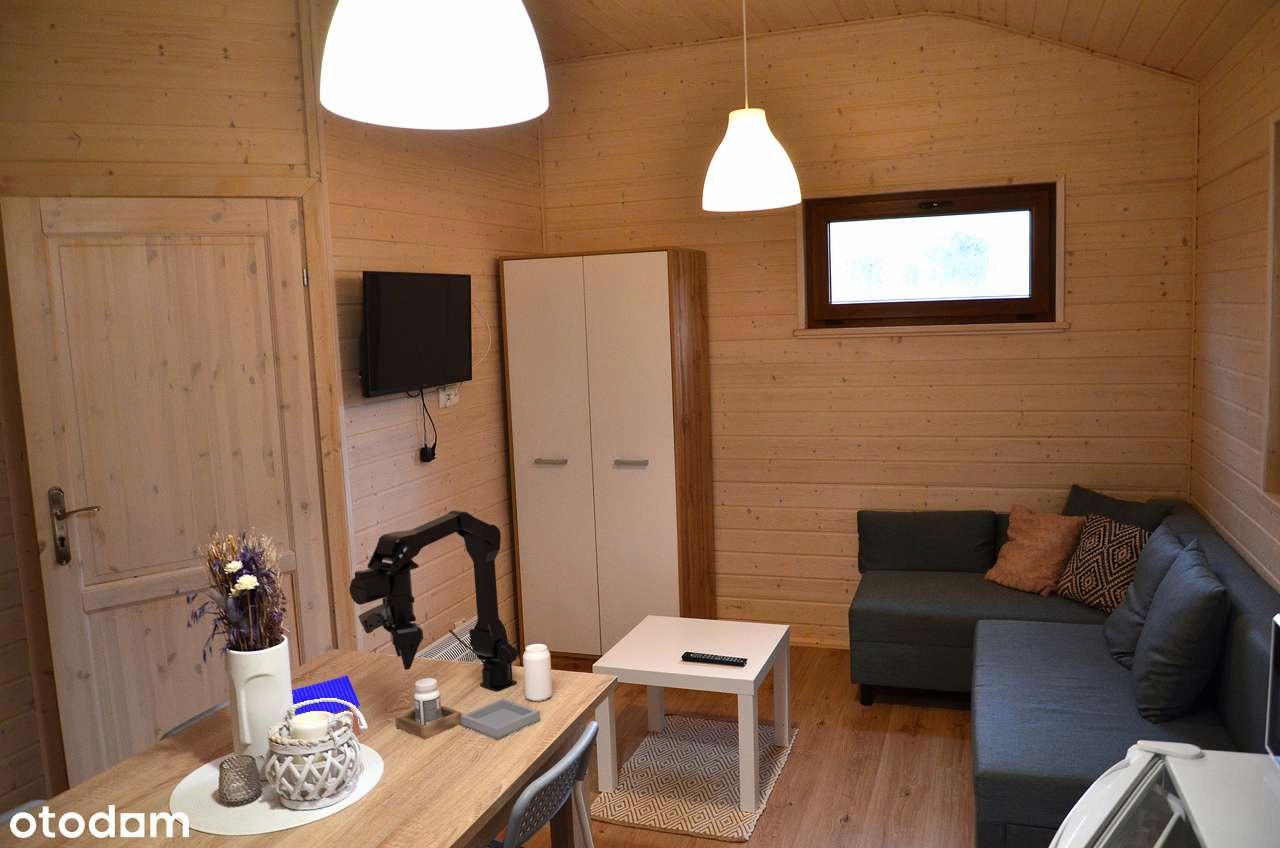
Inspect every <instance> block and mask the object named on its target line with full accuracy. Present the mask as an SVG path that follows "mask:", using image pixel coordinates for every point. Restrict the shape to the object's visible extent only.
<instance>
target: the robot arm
mask: <svg viewBox="0 0 1280 848" xmlns="http://www.w3.org/2000/svg"><path fill="white" fill-rule="evenodd" d="M455 533H456V534H457V535H458V536H459V537H461V538H463V540H464V546H465V550H466V552H467V554H468V555H469V557H470V558H471V560H472V562H473V572H474V573H473V574H474V575H473V576H474V577H473V578H474V586H475V599H476V600H475V602H476V613H477V614H476V616H477V621H476V623H475V625H474V627H473V628H470V629H469V633H468V634H469V646H470V647H471V649H472V651H473V652H474V653H475V655H476V657H477V660H479V661H481V660H482V670H481V671H482V672H481V673H482V682H480V683H479V686H480V687H483V688H486V689H489V690H492V691H496V692H498V691H501V690H504V689H506V688H508V687H511V686H514V685H516V684H518V681H517V680H515V679H513V668H512V667H513V666H512V665H513V662H515V661H516V660H517V658H518V654H519V653H518V650H517V649H516V648H514V646H512V645H511V644H510V643H509V640H508V635H507V630H506V629H505V627H504V625H503V623H502V622H501V620H500V618H499V617H500V615H499V601H498V591H497V590H498V589H497V574H496V558H497V557H498V554H499V552H500V550H501V542H502V541H501V538H502V534H501V530H500V528H499V527H498V526H497V525H496V524H491V523H487V522H485V521H483V520H481V519H479V518H477V517H475V516H473V515H472V514H470V513H469V512H467V511H463V510H452V511H449V512H448V513H447V514H444V515H442V516H440V517H438V518H435V519H432V520H431V521H428V522H427V523H423V524H421V525H419V526H417V527H415V528H413V529H408V530H400V531H394V532H390V533H389V532H387V533H384V534H382V535H381V536H380V537H379V539H378V541H377V544H376V547H375V549H374V551H373V553H372V555H371V557H370V559H369V562H368V564H367V566H366V568H367V569H365V570H358V571H355V572H354V577H353V578H352V579H351V582H350V586H349V587H348V589H349V594H350V598H351V599H352V601H353V602H354V603H355V604H356V605H361V606H362V605H365V604H368V603H371V602H374V601H377V600H381V601H382V603H381V604H379V605H378V606H377V605H376V606H375V607H372V608H370V609H368V610H367V611H364V612H363V613H361V614H359V615H358V619H359V622H360V624H361V626H362V628H363V630H364V632H365V633H366V634H371V633H373V632H374V630H376V629H379V628H380V627H382V628H383V629H384V630H386V631H387V632H389V634H390V642H391V644H392V645H393V646H394V649H395V653H396V656H397V657H401V660H402V661H401V662H402V665H403V668H404V670H405V671H406V670H407V671H408V670H411V667H412V666H413V662H414V659H415V657H416V654H417V652H418V649H419V647H420V644H421V643H422V641H423V640H424V631H423V629H422V627H421V626H420V625H419V624H417V623H416V622H417V620H416V619H417V618H416V615H415V611H414V603H415V597H414V596H413V587H412V585H413V584H412V573H411V570H415V569H418V568H419V567H420V566H419V564H418V563H417V562H415V561H414V560H413V558H415V557H416V556H418V555H419V553H420V552H421V550H423V549H424V548H425V547H427V546H428V545H431V544H433V543H436V542H438V541H439V540H442V539H444V538H446V537H448V536H450V535H451V536H452V535H454V534H455ZM385 561H386V562H385Z"/></svg>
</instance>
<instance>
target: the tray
mask: <svg viewBox="0 0 1280 848" xmlns="http://www.w3.org/2000/svg"><path fill="white" fill-rule="evenodd" d="M461 715H462V716H461V724H460V725H461V727H462V726H463V727H462V728H464V727H466V728H465V729H467V728H469V729H468V730H470V729H472V730H474V731H473V732H475V731H476V732H475V733H478V732H479V733H478V734H480V733H481V735H483V734H484V735H483V736H485V735H486V737H488V736H489V737H488V738H491V737H492V738H491V739H493V738H494V739H493V740H496V741H500V740H502V739H505V738H506V737H508V735H509V734H511V733H513V732H515V731H517V732H519V731H518V730H520V729H522V728H524V727H526V726H528V727H530V726H529V725H531V724H533V723H535V724H537V723H539V722H541V712H540V709H539V710H538V709H535V708H534V707H533V708H532V707H529V706H526V705H525V704H524V705H523V704H521V703H517V702H514V701H511V700H508V699H505V698H501V699H499V700H496V701H494V702H492V703H490V704H487V705H484V706H482V707H480V708H476V709H475V710H471V711H470V712H468V713H465V714H461ZM538 721H539V722H538ZM536 722H537V723H536ZM533 725H534V724H533ZM531 726H532V725H531ZM526 728H527V727H526ZM524 729H525V728H524ZM472 730H471V731H472ZM522 730H523V729H522ZM520 731H521V730H520ZM515 733H516V732H515ZM513 734H514V733H513ZM511 735H512V734H511ZM509 736H510V735H509Z"/></svg>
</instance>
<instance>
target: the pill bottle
mask: <svg viewBox="0 0 1280 848" xmlns="http://www.w3.org/2000/svg"><path fill="white" fill-rule="evenodd" d="M437 687H438V681H437V679H435V678H431V677H428V678H426V677H425V678H421V679H418V680H417V681H416V682H415V683H414V689H415V692H414V695H413V704H414V705H413V706H414V707H413V708H414V710H415V722H417V723H420V724H422V725H427V724H429V723H432V722H434V721H437V720H439V719H442V711H441V705H442V701H441V698H442V697H441V692H440V691H439V689H438V688H437Z"/></svg>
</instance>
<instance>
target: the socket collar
mask: <svg viewBox="0 0 1280 848" xmlns="http://www.w3.org/2000/svg"><path fill="white" fill-rule="evenodd" d="M441 711H442V719H439V720H437V721H434V722H432V723H429V724H427V725H422V724H420V723H417V722H415V709H412V710H409V711H407V712H405V713H402V714H399V715H397V716H395V717H394V718H395V719H394V720H395V728H396V727H397V728H399V729H401V730H400V731H402V730H404V731H406V732H405V733H407V732H408V733H407V734H409V733H411V734H410V735H412V734H413V736H414V735H415V736H414V737H417V736H418V737H417V738H419V737H420V738H419V739H421V738H422V739H421V740H424V741H425V740H427V739H429V738H432V737H434V736H436V735H439V734H441V733H443V731H444V732H446V731H448V730H451V729H453V728H456V727H458V726H460V725H461V716H462V715H463V714H462V712H461V711H458V710H455V709H453V708H449V707H447V706H444V705H442V704H441ZM457 725H458V726H457ZM455 726H456V727H455ZM452 727H453V728H452ZM397 728H396V729H397ZM450 728H451V729H450ZM399 729H398V730H399ZM447 729H448V730H447ZM445 730H446V731H445ZM404 731H403V732H404Z"/></svg>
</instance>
